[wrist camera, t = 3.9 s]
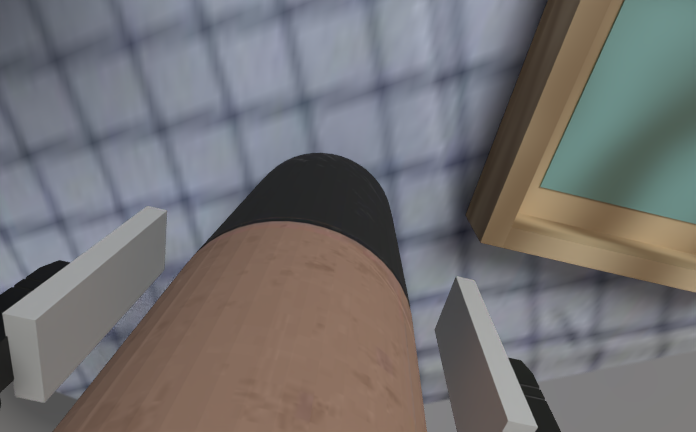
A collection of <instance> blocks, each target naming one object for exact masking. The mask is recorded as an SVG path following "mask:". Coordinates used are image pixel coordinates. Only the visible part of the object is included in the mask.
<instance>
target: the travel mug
mask: <svg viewBox="0 0 696 432" xmlns="http://www.w3.org/2000/svg"><path fill="white" fill-rule="evenodd" d="M53 432H427V429H426V422H425V414H424V406H423V399H422V391H421V383H420V376H419V368H418V361H417V353H416V345H415V338H414V330H413V323H412V315H411V311H410V304H409V299H408V294H407V289H406V284H405V279H404V274H403V268H402V263H401V258H400V253H399V248H398V243H397V238H396V233H395V228H394V223H393V218H392V214H391V210H390V206H389V203H388V200H387V197H386V195H385V193H384V191H383V189H382V187H381V186H380V184H379V183H378V181H377V180H376V179H375V178H374V177H373V176H372V175H371V174H370V173H369V172H368V171H367V170H366V169H364V168H363V167H362V166H360V165H359V164H357V163H355V162H353V161H351V160H349V159H347V158H344V157H342V156H338V155H333V154H326V153H311V154H304V155H300V156H297V157H293V158H291V159H289V160H287V161H285V162H283V163H282V164H280V165H278V166H277V167H276V168H275V169H273V170H272V171H271V172H270V173H269V174H268V175H267V176H266V177H265V178H264V179H263V180H262V181H261V182H260V183H259V184H258V185H257V186H256V187H255V189H254V190H253V191H252V192H251V193H250V194H249V195H248V196H247V197H246V199H245V200H244V201H243V202H242V203H241V204H240V205H239V206H238V207H237V208H236V210H235V211H234V212H233V213H232V214H231V215H230V216H229V217H228V218H227V219H226V221H225V222H224V223H223V224H222V225H221V226H220V227H219V228H218V229H217V230H216V232H215V233H214V234H213V235H212V236H211V237H210V238H209V239H208V240H207V241H206V243H205V244H204V245H203V246H202V247H201V248H200V249H199V250H198V251H197V252H196V254H195V255H194V256H193V257H192V258H191V259H190V260H189V262H188V263H187V264H186V265H185V266H184V268H183V269H182V270H181V271H180V273H179V274H178V275H177V276H176V278H175V279H174V280H173V281H172V283H171V284H170V285H169V286H168V288H167V289H166V290H165V291H164V293H163V294H162V295H161V297H160V298H159V299H158V300H157V302H156V303H155V304H154V305H153V307H152V308H151V309H150V310H149V312H148V313H147V314H146V315H145V317H144V318H143V319H142V320H141V322H140V323H139V324H138V325H137V327H136V328H135V329H134V330H133V332H132V333H131V334H130V335H129V337H128V338H127V339H126V340H125V342H124V343H123V344H122V345H121V347H120V348H119V349H118V350H117V352H116V353H115V354H114V355H113V357H112V358H111V359H110V360H109V362H108V363H107V364H106V365H105V367H104V368H103V369H102V370H101V372H100V373H99V374H98V375H97V377H96V378H95V379H94V380H93V382H92V383H91V384H90V385H89V387H88V388H87V389H86V390H85V392H84V393H83V394H82V395H81V397H80V398H79V399H78V400H77V402H76V403H75V404H74V405H73V407H72V408H71V409H70V410H69V412H68V413H67V414H66V416H65V417H64V418H63V419H62V421H61V422H60V423H59V424H58V426H57V427H56V428H55V429H54V431H53Z"/></svg>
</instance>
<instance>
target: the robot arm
mask: <svg viewBox="0 0 696 432" xmlns="http://www.w3.org/2000/svg"><path fill="white" fill-rule="evenodd" d="M166 224H167V210H163V209H158V208H154V207H150V206H147V207H145V208H144V209H143V210H141V211H140V212H139V213H137V214H136V215H134V216H133V217H132V218H130V219H129V220H128V221H126V222H125V223H124V224H122V225H121V226H120V227H118V228H117V229H116V230H114V231H113V232H112V233H110V234H109V235H107V236H106V237H105V238H103V239H102V240H101V241H99V242H98V243H97V244H95V245H94V246H93V247H91V248H90V249H89V250H87V251H86V252H84V253H83V254H82V255H80V256H79V257H78V258H76V259H75V260H74V261H72V262H71V263H70V262H65V261H60V260H59V261H56V262H53V263H51V264H48V265H45V266H43V267H40V268H39V269H37V270H36V271H34V272H33V273H31V274H30V275H29V276H27V277H26V279H23V280H21V281H20V282H18V283H17V284H15V285H14V287H11V288H10V289H8V290H7V291H5V292H4V293H2V294H1V295H0V392H1V391H2V390H4V389H5V388H6V387H7V386H8V385H9V384H10V383H11V382H12V381H13V385H14V391H15V397H19V398H24V399H28V400H33V401H39V402H43V403H45V402H46V401H47V400H48V399H49V397H50V396H51V395H52V394H53V393H54V392H55V391H56V390H57V389H58V388H59V386H60V385H61V384H62V383H63V382H64V381H65V380H66V379H67V378H68V376H69V375H70V374H71V373H72V372H73V371H74V370H75V369H76V368H77V367H78V365H79V364H80V363H81V362H82V361H83V360H84V359H85V358H86V357H87V355H88V354H89V353H90V352H91V351H92V350H93V349H94V348H95V347H96V345H97V344H98V343H99V342H100V341H101V340H102V339H103V338H104V337H105V335H106V334H107V333H108V332H109V331H110V330H111V329H112V328H113V327H114V325H115V324H116V323H117V322H118V321H119V320H120V319H121V318H122V317H123V315H124V314H125V313H126V312H127V311H128V310H129V309H130V308H131V307H132V305H133V304H134V303H135V302H136V301H137V300H138V299H139V298H140V297H141V295H142V294H143V293H144V292H145V291H146V290H147V289H148V288H149V287H150V285H151V284H152V283H153V282H154V281H155V280H156V279H157V278H158V277H159V275H160V274H161V273H162V272H163V271H164V267H165V245H166ZM435 334H436V338H437V343H438V347H439V352H440V357H441V361H442V366H443V370H444V375H445V379H446V384H447V388H448V393H449V397H450V402H451V407H452V411H453V416H454V420H455V424H456V429H457V432H561V431H560V429H559V427H558V425H557V422H556V420H555V418H554V416H553V414H552V412H551V410H550V408H549V406H548V404H547V402H546V401H545V398H544V396H543V394H542V392H541V390H539V385H538V383H537V381H536V379H535V377H534V375H533V373H532V372H531V371H530V370H529V369H528V368H527V367H526V365H525V364H524V363H523V362H522V361H521V360H516V359H512V358H508V357H507V354H506V352H505V350H504V347H503V345H502V343H501V341H500V338H499V336H498V334H497V331H496V329H495V327H494V324H493V322H492V320H491V317H490V315H489V313H488V310H487V308H486V306H485V303H484V301H483V299H482V296H481V294H480V292H479V290H478V287H477V285H476V283H475V280H471V279H466V278H462V277H458V276H456V278H455V280H454V283H453V285H452V288H451V290H450V293H449V295H448V298H447V300H446V303H445V305H444V308H443V310H442V313H441V315H440V318H439V320H438V323H437V325H436V328H435ZM0 407H1V400H0Z"/></svg>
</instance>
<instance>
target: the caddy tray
mask: <svg viewBox="0 0 696 432" xmlns="http://www.w3.org/2000/svg"><path fill="white" fill-rule="evenodd" d="M466 217H467V219H468V221H469V223H470V224H471V226H472V228H473V230H474V232H475V234H476V236H477V237H478V239H479V241H480V243H484V244H488V245H493V246H497V247H501V248H506V249H510V250H514V251H519V252H523V253H527V254H531V255H536V256H540V257H544V258H549V259H553V260H557V261H562V262H566V263H570V264H575V265H579V266H583V267H588V268H592V269H596V270H601V271H605V272H609V273H614V274H618V275H622V276H627V277H631V278H635V279H640V280H644V281H648V282H652V283H657V284H661V285H665V286H670V287H674V288H678V289H683V290H687V291H691V292H696V0H548V1H547V4H546V7H545V9H544V12H543V14H542V17H541V20H540V22H539V25H538V27H537V30H536V33H535V35H534V38H533V40H532V43H531V46H530V48H529V51H528V53H527V56H526V59H525V61H524V64H523V67H522V69H521V72H520V74H519V77H518V80H517V82H516V85H515V87H514V90H513V93H512V95H511V98H510V100H509V103H508V106H507V108H506V111H505V113H504V116H503V119H502V121H501V124H500V126H499V129H498V132H497V134H496V137H495V139H494V142H493V145H492V147H491V150H490V153H489V155H488V158H487V160H486V163H485V166H484V168H483V171H482V173H481V176H480V179H479V181H478V184H477V186H476V189H475V192H474V194H473V197H472V199H471V202H470V205H469V207H468V210H467V212H466Z"/></svg>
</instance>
